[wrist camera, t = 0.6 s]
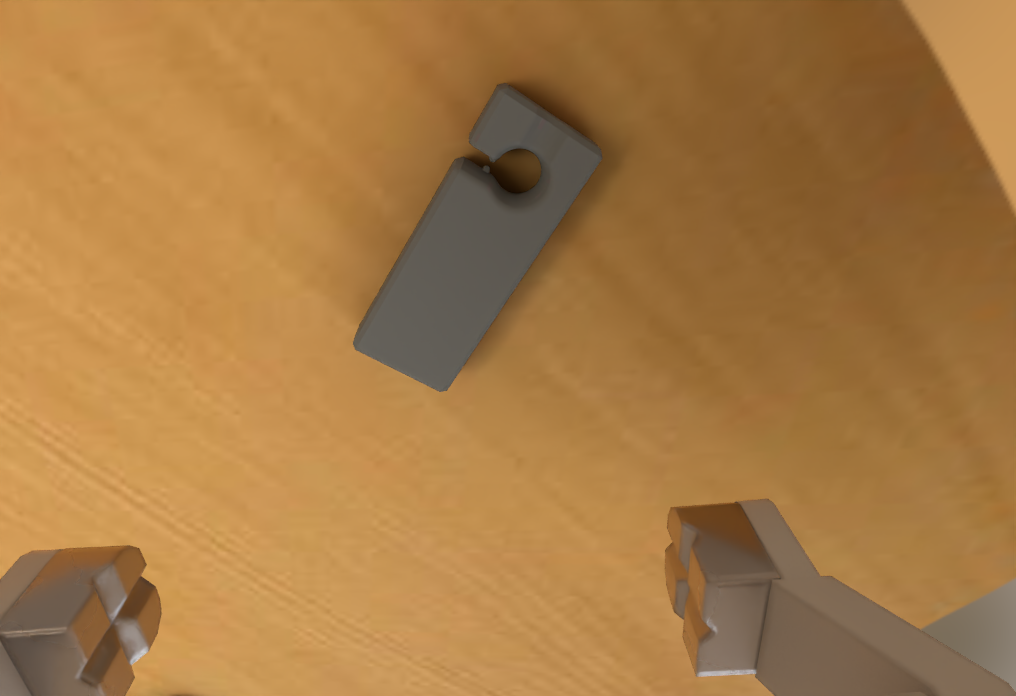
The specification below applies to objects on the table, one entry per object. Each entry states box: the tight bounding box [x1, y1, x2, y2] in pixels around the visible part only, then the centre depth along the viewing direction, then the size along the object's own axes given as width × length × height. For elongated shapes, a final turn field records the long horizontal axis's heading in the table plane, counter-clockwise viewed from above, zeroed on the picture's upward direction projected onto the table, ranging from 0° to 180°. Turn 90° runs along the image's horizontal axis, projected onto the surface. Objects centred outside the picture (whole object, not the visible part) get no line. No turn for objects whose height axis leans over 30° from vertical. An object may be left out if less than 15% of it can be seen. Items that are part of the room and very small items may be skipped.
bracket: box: [353, 83, 602, 392], centre depth 23 cm, size 4×10×2 cm, turn 148°
